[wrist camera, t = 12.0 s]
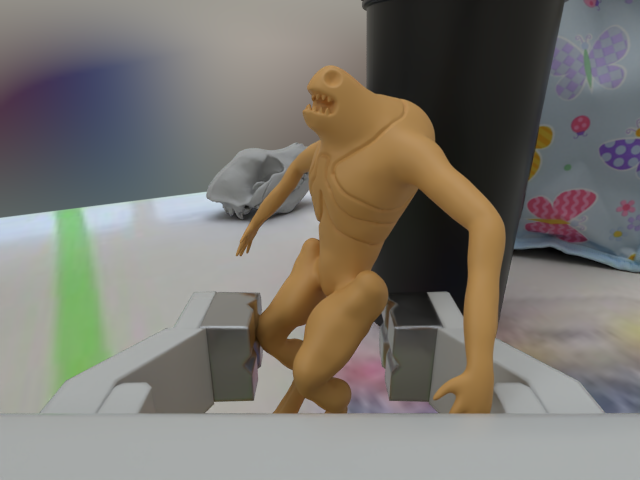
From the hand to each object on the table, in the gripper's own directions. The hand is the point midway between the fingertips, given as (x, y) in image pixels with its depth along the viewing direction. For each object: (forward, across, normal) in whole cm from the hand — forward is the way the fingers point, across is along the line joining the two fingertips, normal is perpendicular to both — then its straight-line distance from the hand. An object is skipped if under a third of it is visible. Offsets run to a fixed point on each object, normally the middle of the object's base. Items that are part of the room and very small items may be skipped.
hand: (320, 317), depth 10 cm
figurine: (-1, 0, +7) cm, 7 cm away
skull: (+37, +6, +9) cm, 39 cm away
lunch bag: (+32, -23, +9) cm, 41 cm away
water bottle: (+16, -7, +9) cm, 20 cm away
